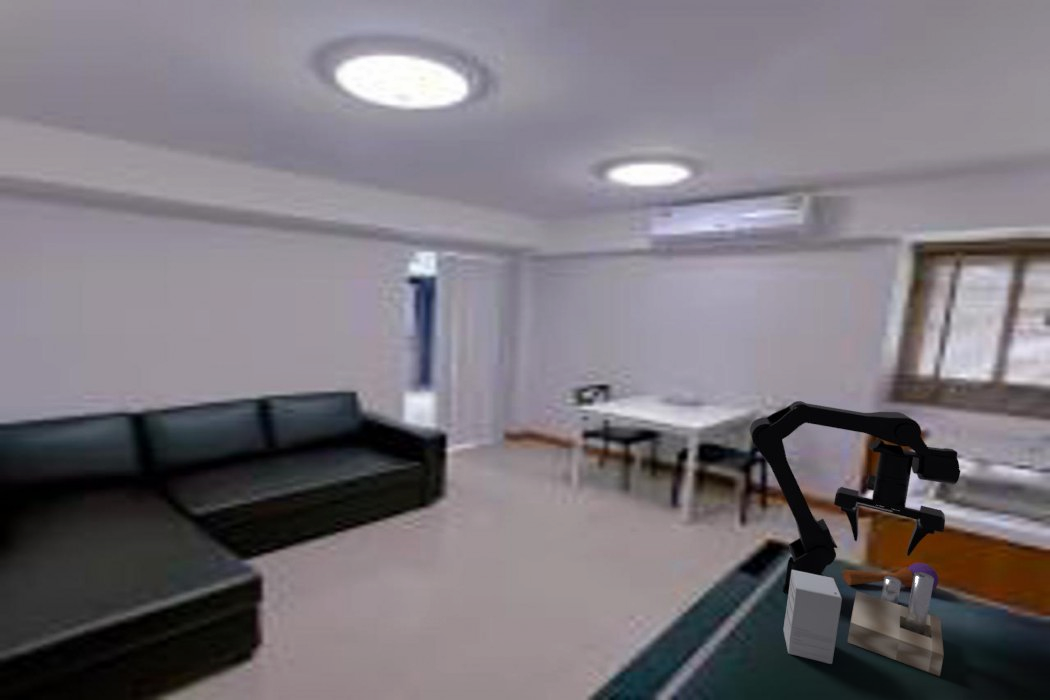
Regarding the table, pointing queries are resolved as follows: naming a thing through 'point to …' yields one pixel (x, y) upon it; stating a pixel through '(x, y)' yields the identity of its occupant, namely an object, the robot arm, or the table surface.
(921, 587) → the long pin
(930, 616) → the hole block
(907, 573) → the kendama
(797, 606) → the supplement box
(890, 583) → the short pin
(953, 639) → the table surface
